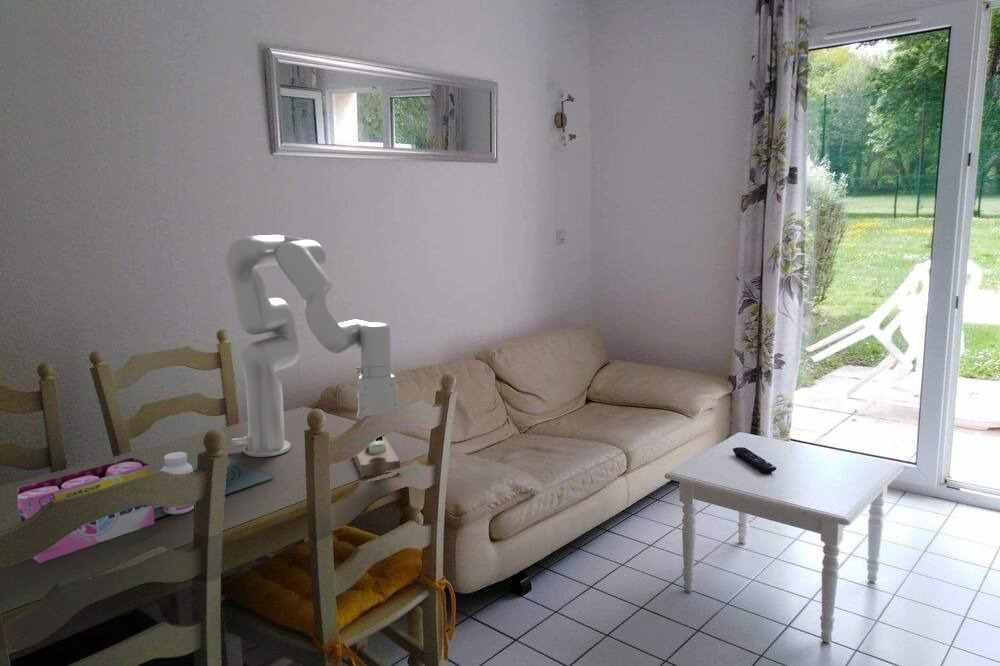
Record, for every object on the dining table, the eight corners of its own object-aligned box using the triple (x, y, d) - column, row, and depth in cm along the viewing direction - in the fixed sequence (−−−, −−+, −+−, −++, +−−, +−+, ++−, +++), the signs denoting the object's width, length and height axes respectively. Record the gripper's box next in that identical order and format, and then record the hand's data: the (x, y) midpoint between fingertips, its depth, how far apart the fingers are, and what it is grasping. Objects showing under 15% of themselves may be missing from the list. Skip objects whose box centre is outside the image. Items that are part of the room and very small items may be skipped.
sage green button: (370, 454, 181) (370, 447, 181) (367, 449, 185) (367, 442, 185) (387, 453, 183) (387, 445, 182) (384, 447, 187) (384, 440, 186)
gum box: (31, 567, 133) (23, 500, 130) (15, 555, 137) (7, 489, 135) (156, 523, 152) (151, 464, 149) (138, 514, 156) (133, 456, 154)
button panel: (361, 476, 179) (361, 465, 179) (349, 448, 200) (348, 438, 199) (399, 471, 183) (399, 460, 182) (384, 445, 203) (383, 435, 203)
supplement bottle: (201, 504, 162) (197, 450, 160) (185, 516, 155) (181, 461, 153) (173, 502, 162) (169, 449, 160) (157, 514, 156) (152, 459, 154)
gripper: (349, 376, 174) (351, 447, 177) (408, 371, 179) (409, 440, 182) (344, 370, 181) (347, 438, 184) (401, 365, 186) (403, 432, 189)
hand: (378, 439), depth 183 cm, fingers closed
